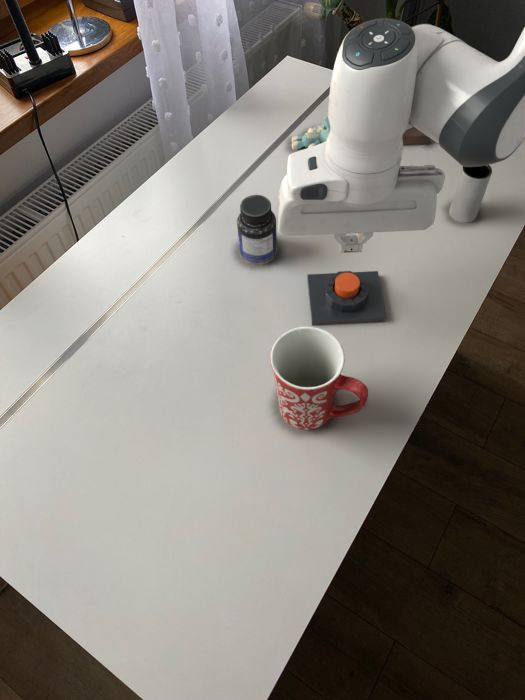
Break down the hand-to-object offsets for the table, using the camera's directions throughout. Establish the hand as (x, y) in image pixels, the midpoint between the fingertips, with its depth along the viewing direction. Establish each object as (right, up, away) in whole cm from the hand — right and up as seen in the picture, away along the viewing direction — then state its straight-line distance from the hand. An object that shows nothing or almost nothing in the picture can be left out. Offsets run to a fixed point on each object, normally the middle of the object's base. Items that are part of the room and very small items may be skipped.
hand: (350, 249), depth 83 cm
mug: (-5, -23, 0) cm, 23 cm away
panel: (+13, +27, +32) cm, 44 cm away
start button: (0, -5, +7) cm, 9 cm away
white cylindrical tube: (+22, +9, +20) cm, 30 cm away
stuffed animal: (-1, +24, +31) cm, 39 cm away
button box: (+1, -7, +10) cm, 12 cm away
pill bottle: (-13, +2, +16) cm, 21 cm away
